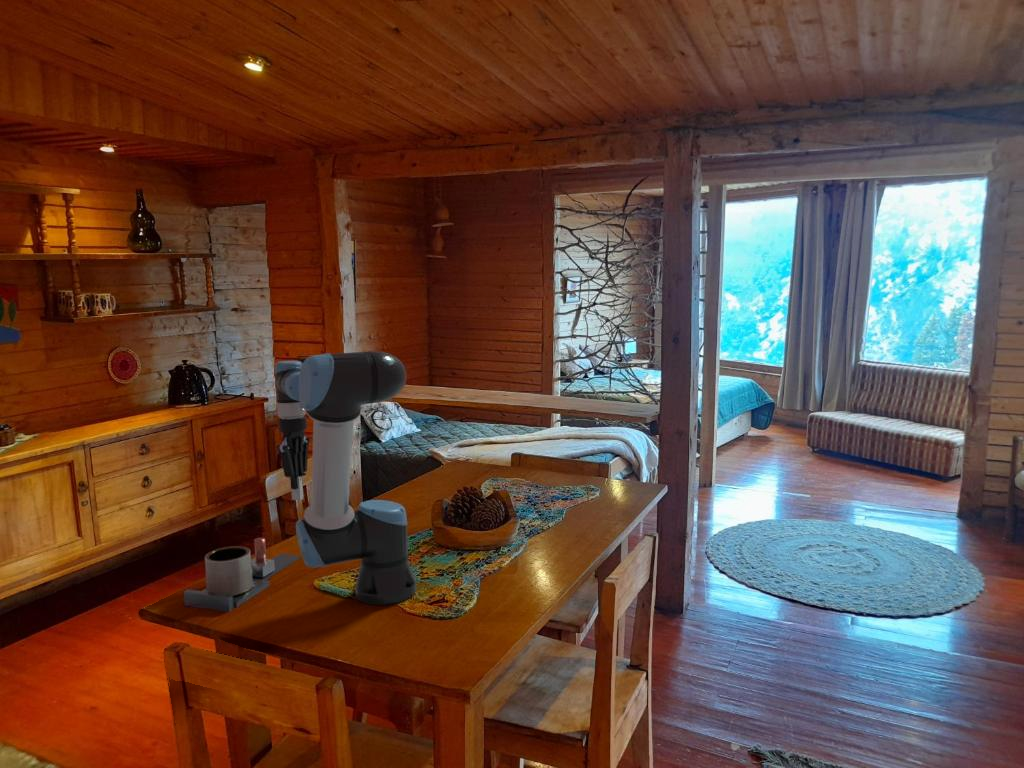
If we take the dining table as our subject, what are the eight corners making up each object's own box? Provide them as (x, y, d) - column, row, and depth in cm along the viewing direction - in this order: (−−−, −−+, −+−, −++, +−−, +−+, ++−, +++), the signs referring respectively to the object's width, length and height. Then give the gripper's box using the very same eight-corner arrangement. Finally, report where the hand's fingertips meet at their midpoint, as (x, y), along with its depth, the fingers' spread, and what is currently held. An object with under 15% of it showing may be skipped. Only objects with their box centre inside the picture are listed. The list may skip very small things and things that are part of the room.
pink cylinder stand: (253, 583, 189) (251, 550, 187) (234, 580, 190) (231, 548, 189) (274, 570, 197) (272, 538, 196) (255, 567, 199) (253, 536, 198)
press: (229, 611, 175) (228, 598, 174) (185, 605, 179) (183, 591, 178) (309, 559, 207) (309, 547, 206) (270, 554, 211) (270, 543, 210)
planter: (256, 593, 182) (253, 556, 181) (209, 602, 177) (206, 565, 176) (249, 577, 192) (246, 542, 190) (204, 586, 187) (202, 550, 185)
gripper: (290, 420, 195) (296, 506, 198) (316, 413, 208) (321, 493, 210) (266, 420, 197) (272, 505, 200) (293, 412, 210) (299, 492, 213)
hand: (297, 499), depth 205 cm, fingers closed
